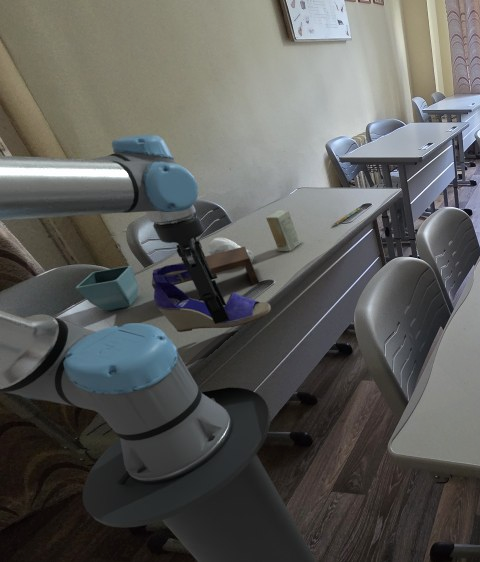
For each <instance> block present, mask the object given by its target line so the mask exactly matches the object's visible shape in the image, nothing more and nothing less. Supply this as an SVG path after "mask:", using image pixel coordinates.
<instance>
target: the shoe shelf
mask: <svg viewBox="0 0 480 562" xmlns="http://www.w3.org/2000/svg"><path fill="white" fill-rule="evenodd" d="M246 250H247V248H246V246H241V247H240V248H236V249H233V250H229V251H225V252H221V253H217V254H213V255H211V254H209V255H205V259H206V261H207V263H208V265H209V268H210V270H212V275H214V274H216V275H217V274H220V273H224V272H227V271H230V270H234V269H239V268H241V267H244V268H245V271H246V273H247V276H248V278H249V280H250V283H251V284H252V285H253V286H254V285H256V284H259V283H260V280H259V278H258V275H257V272H256V269H255V268H254V265H253V262H252V263H251V260H250V258H249V255H248V253H247V251H246ZM177 264H184V262H183V261H182V262H178V263H177ZM156 269H157V268H155V269H153V270H152V273H153V272H154V271H155V270H156ZM185 271H187V270H185ZM178 272H179V273H181V272H184V271H175V272H170V273H167V274H172V273H178ZM191 281H193V280H192V278H191V277H190V278H187V279H184V282H179V283H173V284H174V285H175V286H177V285H181V284H184V283H187V282H191ZM151 286H152V289H154V291H155V281H154V279H153V276H152V278H151Z"/></svg>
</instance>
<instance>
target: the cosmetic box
mask: <svg viewBox="0 0 480 562" xmlns="http://www.w3.org/2000/svg"><path fill="white" fill-rule="evenodd" d="M265 219H266V222H267V224H268V227H269V229H270V233H271V234H272V237H273V240H274V242H275V244H276V247H277V250H278V252H291V251H293V250H294V249H295V248H296V247H298V246H299V245H300V244H301V242H300V239H299V236H298V233H297V230H296V227H295V225H294V222H293V218H292V215H291V212H290V210H281V209H280V210H276V211H274V212H272V213H271V214H269V215H268V216H266V217H265Z"/></svg>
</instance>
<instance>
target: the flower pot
mask: <svg viewBox="0 0 480 562" xmlns="http://www.w3.org/2000/svg"><path fill="white" fill-rule="evenodd" d="M75 289H76V290H77V291H78V292H79V293H80V294H81V295H82V296H83V297H84V298H85V300H87V301H88V302H89V303H90V304H92V305H94V306H95V307H97V308H99V309H102V310H104V311H109V312H110V311H114V310H119V309H124V308H128V307H130V306H131V305H132V304H133V303H134V301H136V299H137V298H138V294H139V284H138V280H137V278H136V275H135V273H134V270H133V268H132V265H125V266H119V267H114V268H109V269H108V268H107V269H102V270H97V271H92V272H91V273H90V274H88V276H86V277H85V278H84V279H83V280H82V281H81V282H80V283H79V284H77V285H76V286H75Z"/></svg>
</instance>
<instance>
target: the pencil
mask: <svg viewBox="0 0 480 562" xmlns="http://www.w3.org/2000/svg"><path fill="white" fill-rule="evenodd" d="M360 211H361V207H357V208H355V209H354V210H352V211H351V212H349V213H348V214H346V215H344V216H343V217H341V218H340V219H338V220H337V221H335V222H334V223H333V225H332V227H335V226H339V224H341V223H343V222H345V221H346V220H347V219H349V218H350V217H352V216H353V215H355V214H357V213H358V212H360Z"/></svg>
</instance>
